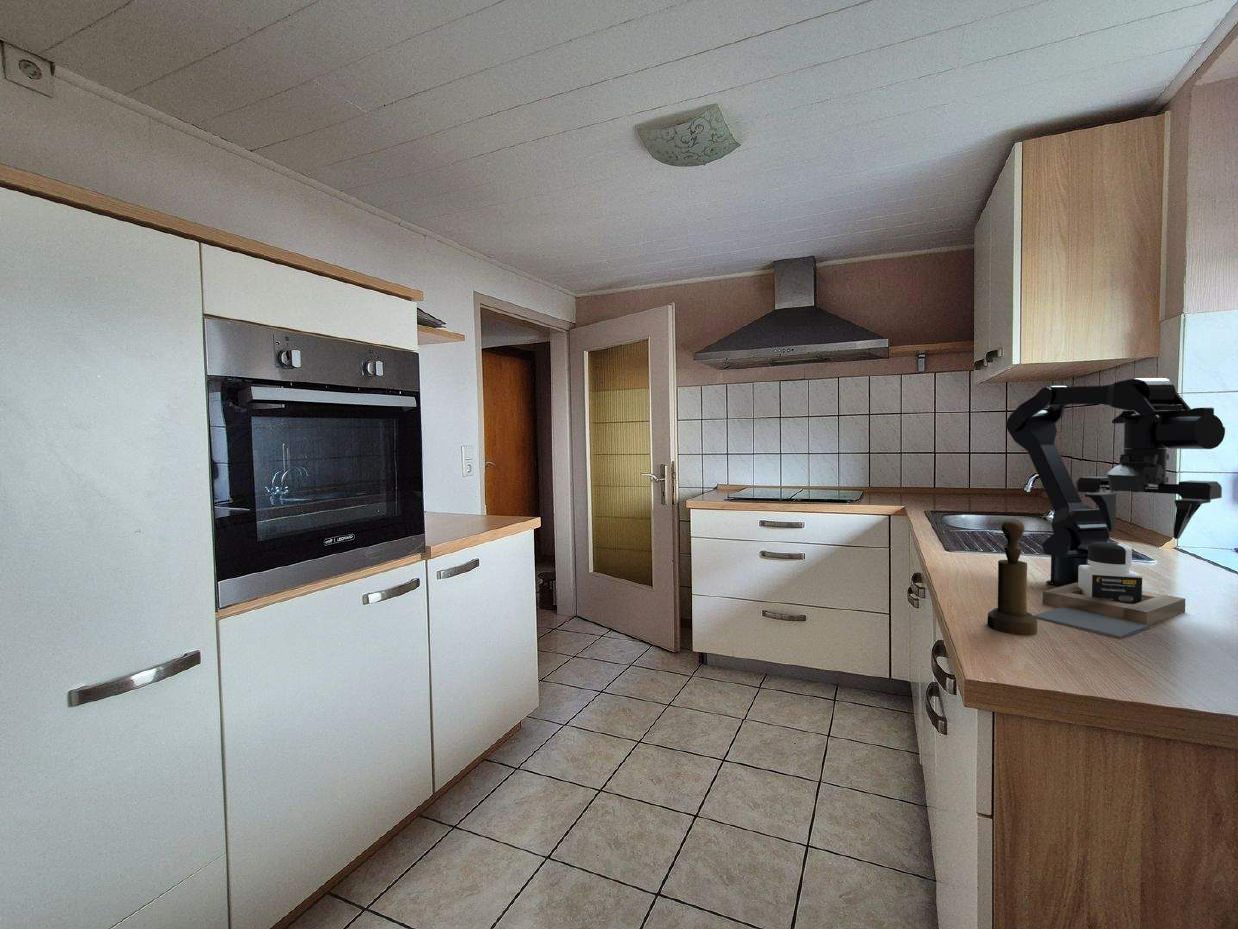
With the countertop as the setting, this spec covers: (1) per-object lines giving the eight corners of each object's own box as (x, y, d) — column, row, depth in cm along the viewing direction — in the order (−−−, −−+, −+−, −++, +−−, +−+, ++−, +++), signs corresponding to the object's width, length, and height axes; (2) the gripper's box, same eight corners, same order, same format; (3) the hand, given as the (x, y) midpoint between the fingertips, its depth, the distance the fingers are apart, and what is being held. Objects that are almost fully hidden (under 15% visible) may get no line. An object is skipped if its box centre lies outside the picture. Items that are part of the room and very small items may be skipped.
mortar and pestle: (1029, 625, 95) (1030, 517, 94) (1043, 638, 89) (1045, 523, 88) (982, 622, 97) (983, 516, 96) (993, 634, 91) (995, 521, 90)
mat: (1032, 619, 98) (1033, 615, 98) (1063, 609, 103) (1063, 606, 103) (1120, 640, 88) (1120, 636, 88) (1149, 628, 92) (1149, 625, 92)
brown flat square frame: (1042, 604, 106) (1042, 591, 106) (1083, 593, 113) (1083, 580, 113) (1146, 627, 93) (1146, 612, 93) (1185, 612, 100) (1185, 598, 100)
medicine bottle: (1091, 612, 103) (1092, 545, 102) (1077, 601, 109) (1078, 539, 109) (1142, 616, 100) (1143, 547, 100) (1124, 605, 107) (1125, 540, 106)
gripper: (1061, 449, 108) (1060, 532, 108) (1197, 450, 91) (1194, 548, 92) (1090, 447, 113) (1089, 527, 113) (1224, 448, 96) (1221, 541, 97)
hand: (1142, 535), depth 104 cm, fingers open, 9 cm apart
